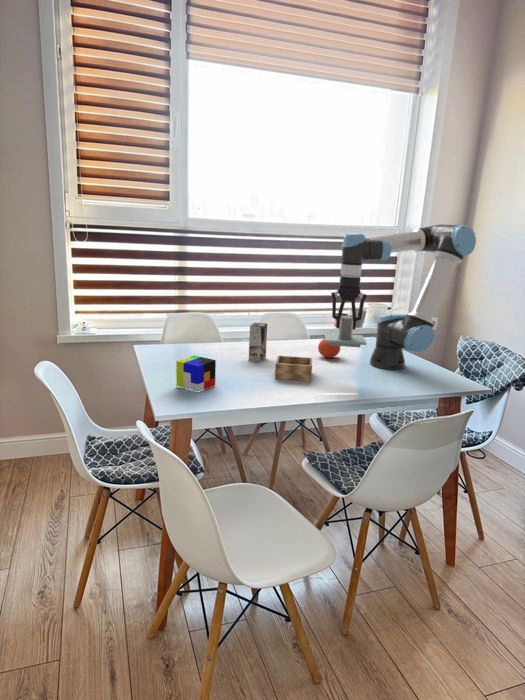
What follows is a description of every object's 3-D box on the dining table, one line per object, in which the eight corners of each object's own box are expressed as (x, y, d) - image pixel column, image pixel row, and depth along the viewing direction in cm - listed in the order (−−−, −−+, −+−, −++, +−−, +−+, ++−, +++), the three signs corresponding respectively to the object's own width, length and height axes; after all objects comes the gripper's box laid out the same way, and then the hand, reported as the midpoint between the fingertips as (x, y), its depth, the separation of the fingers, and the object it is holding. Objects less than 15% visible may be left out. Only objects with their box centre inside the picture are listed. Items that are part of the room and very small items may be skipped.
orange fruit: (339, 355, 223) (341, 335, 220) (339, 361, 213) (341, 340, 210) (318, 353, 224) (319, 333, 222) (316, 359, 214) (318, 338, 212)
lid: (362, 340, 187) (364, 315, 184) (365, 348, 175) (368, 321, 172) (324, 338, 188) (326, 313, 186) (325, 346, 176) (327, 319, 173)
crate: (310, 374, 192) (312, 357, 191) (310, 383, 181) (312, 366, 179) (277, 371, 194) (277, 355, 192) (274, 380, 182) (275, 363, 180)
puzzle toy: (197, 393, 165) (198, 366, 163) (176, 387, 170) (176, 361, 168) (215, 386, 174) (215, 360, 171) (194, 380, 179) (194, 355, 176)
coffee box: (262, 363, 205) (263, 327, 201) (248, 361, 206) (249, 325, 202) (266, 357, 214) (267, 323, 210) (252, 356, 215) (253, 322, 211)
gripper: (371, 276, 178) (365, 336, 184) (327, 273, 179) (323, 333, 185) (374, 278, 171) (367, 340, 177) (328, 275, 172) (323, 337, 178)
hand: (344, 337), depth 181 cm, fingers closed on lid, 3 cm apart
